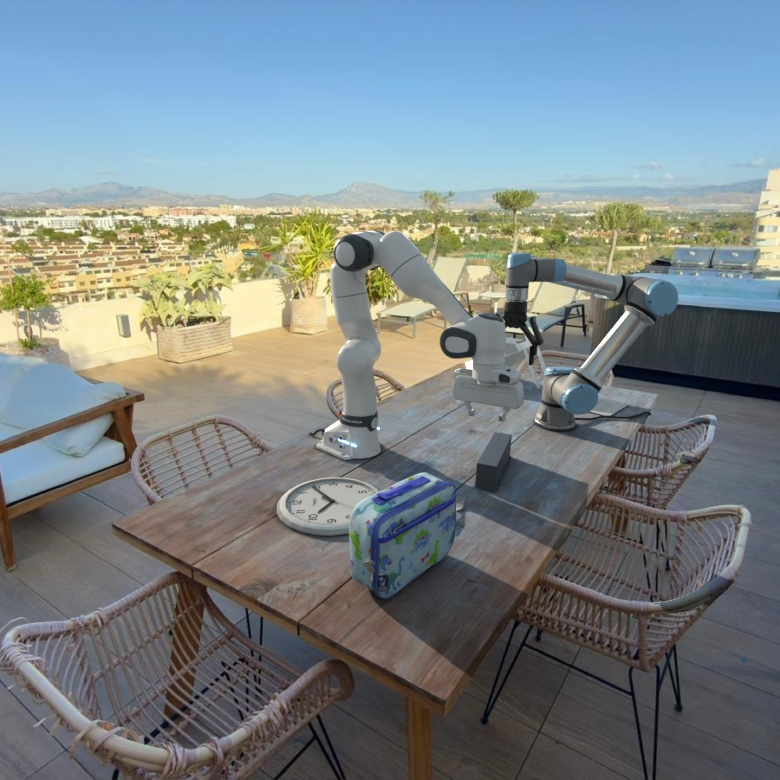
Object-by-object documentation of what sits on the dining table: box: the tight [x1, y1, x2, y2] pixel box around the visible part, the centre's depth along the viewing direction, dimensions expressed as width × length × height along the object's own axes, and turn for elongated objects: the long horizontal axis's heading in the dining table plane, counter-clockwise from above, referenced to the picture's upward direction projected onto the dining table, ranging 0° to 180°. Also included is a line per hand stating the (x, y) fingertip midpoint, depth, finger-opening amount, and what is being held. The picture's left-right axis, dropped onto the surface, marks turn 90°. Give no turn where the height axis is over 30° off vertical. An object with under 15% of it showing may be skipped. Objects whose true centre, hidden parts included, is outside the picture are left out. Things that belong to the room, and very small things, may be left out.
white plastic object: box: [464, 333, 547, 390], centre depth 260 cm, size 37×45×31 cm
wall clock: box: [276, 476, 381, 537], centre depth 142 cm, size 30×2×30 cm
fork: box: [456, 494, 466, 512], centre depth 138 cm, size 3×16×2 cm, turn 160°
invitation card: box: [589, 397, 629, 416], centre depth 226 cm, size 21×1×15 cm
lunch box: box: [348, 471, 457, 600], centre depth 113 cm, size 26×11×21 cm, turn 134°
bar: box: [474, 431, 513, 492], centre depth 163 cm, size 26×6×8 cm, turn 158°
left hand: (486, 418), depth 151 cm, fingers open, 8 cm apart
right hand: (512, 361), depth 182 cm, fingers open, 13 cm apart
